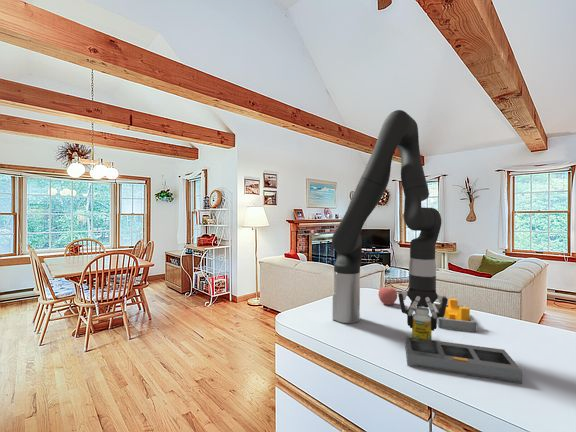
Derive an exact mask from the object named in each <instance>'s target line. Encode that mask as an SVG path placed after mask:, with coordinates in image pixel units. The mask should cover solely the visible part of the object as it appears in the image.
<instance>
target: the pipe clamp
mask: <svg viewBox="0 0 576 432" xmlns="http://www.w3.org/2000/svg"><path fill="white" fill-rule="evenodd" d="M447 299H448V301H447V304H448V307H446V310H445V314H444V317H445V319H454V320H463V321H470V316H471V312H470V311H471V309H470V308H469V307H467V306H463V307H459V308H458V305H459V304H458V303H459V302H458V299H457V298H447Z"/></svg>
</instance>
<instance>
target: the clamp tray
mask: <svg viewBox="0 0 576 432" xmlns="http://www.w3.org/2000/svg"><path fill="white" fill-rule="evenodd" d="M432 305H433V308H434V310H435V312H438V311H439V307H440V303H435V302H434V303H433V304H432ZM446 307H448V303H447V306H446ZM459 307H464V306H463V305H459V304H458V308H459ZM437 328H440V329H447V330H455V331H464V332H471V333H472V332H473V333H477V322H476V321H475V319H474V317H472V315H470V321H463V320H454V319H447V318H444V317H439V318H437Z"/></svg>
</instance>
